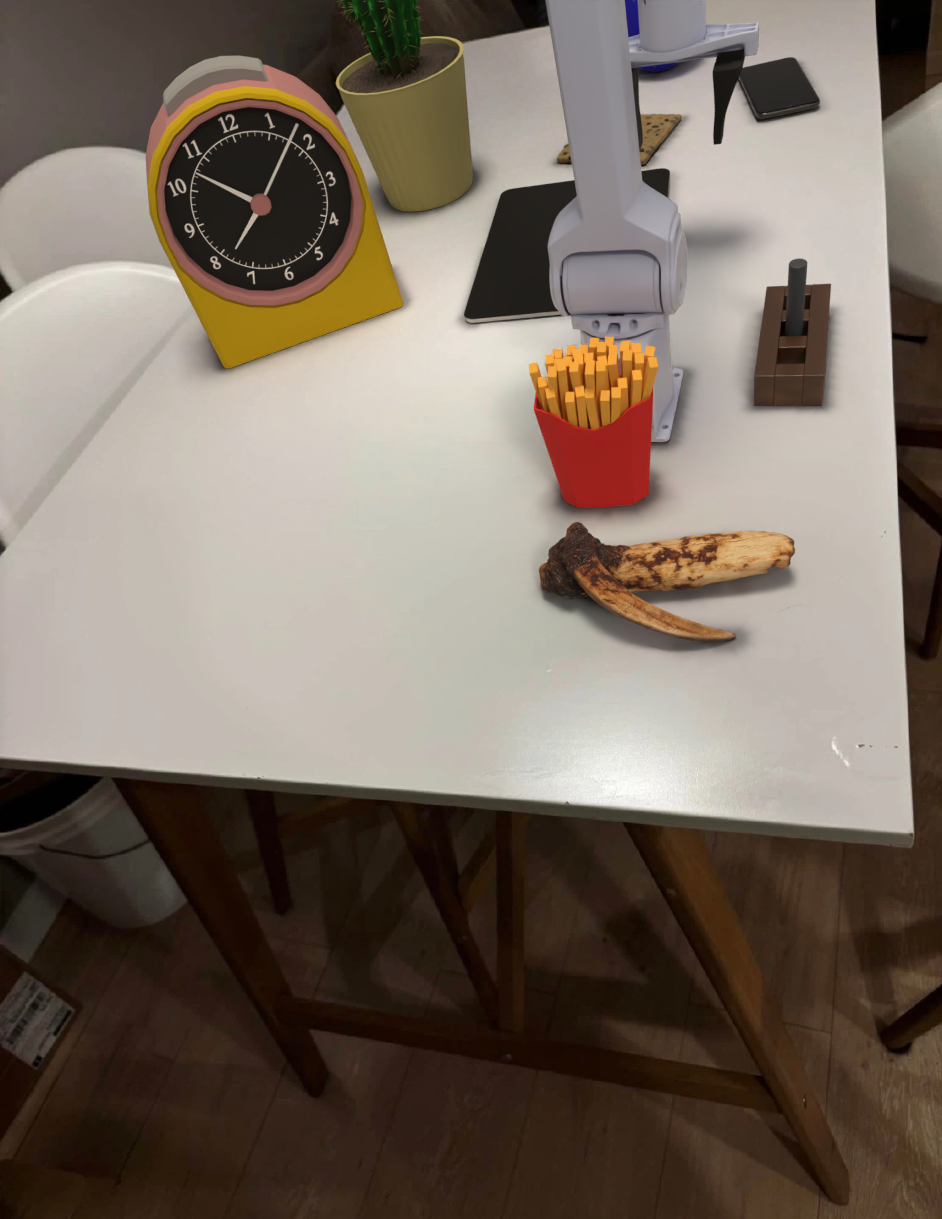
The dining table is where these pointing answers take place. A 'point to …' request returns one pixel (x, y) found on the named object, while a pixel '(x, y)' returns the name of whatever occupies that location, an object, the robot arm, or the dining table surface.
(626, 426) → the french fries
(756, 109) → the smartphone
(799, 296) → the stylus
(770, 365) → the stand
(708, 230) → the dining table surface
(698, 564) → the lashed bone hook
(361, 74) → the potted cactus
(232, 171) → the alarm clock
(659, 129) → the cookie
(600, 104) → the robot arm
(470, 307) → the tablet
